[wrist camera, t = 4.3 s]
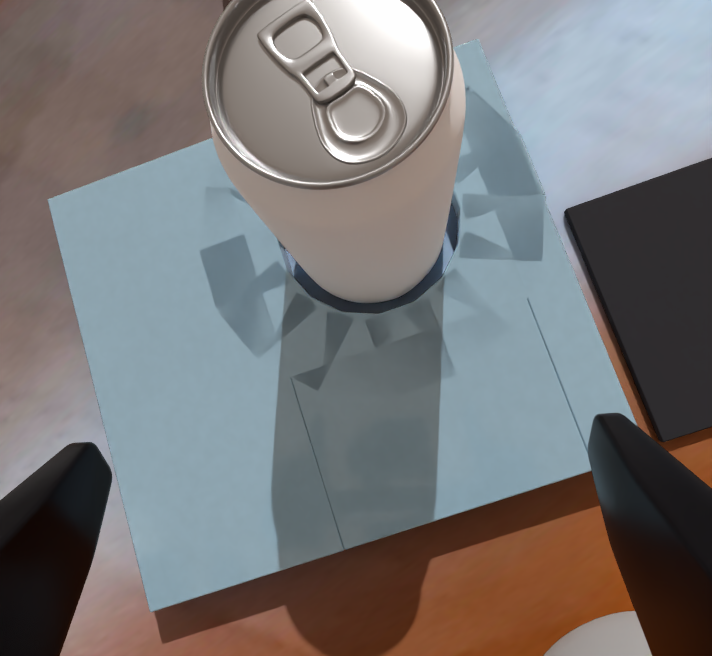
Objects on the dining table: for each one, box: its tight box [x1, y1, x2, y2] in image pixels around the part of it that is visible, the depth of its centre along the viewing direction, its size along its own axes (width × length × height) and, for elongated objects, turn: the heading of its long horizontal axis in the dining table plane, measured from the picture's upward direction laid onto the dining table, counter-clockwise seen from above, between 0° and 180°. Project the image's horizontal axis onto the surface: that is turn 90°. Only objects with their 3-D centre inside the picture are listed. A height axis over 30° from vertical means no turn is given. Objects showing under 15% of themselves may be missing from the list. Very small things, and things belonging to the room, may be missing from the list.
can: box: [202, 0, 466, 303], centre depth 18 cm, size 6×6×12 cm
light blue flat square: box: [48, 39, 637, 612], centre depth 23 cm, size 20×19×1 cm
